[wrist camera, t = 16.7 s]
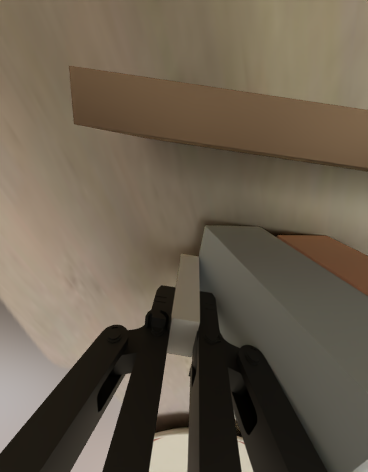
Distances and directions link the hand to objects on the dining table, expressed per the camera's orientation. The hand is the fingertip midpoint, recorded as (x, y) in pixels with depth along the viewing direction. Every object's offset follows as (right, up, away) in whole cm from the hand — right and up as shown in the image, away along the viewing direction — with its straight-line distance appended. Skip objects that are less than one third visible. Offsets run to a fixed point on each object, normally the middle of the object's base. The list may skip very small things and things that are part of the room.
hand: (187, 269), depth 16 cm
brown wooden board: (+13, +8, -2) cm, 15 cm away
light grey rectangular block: (+3, 0, +1) cm, 3 cm away
